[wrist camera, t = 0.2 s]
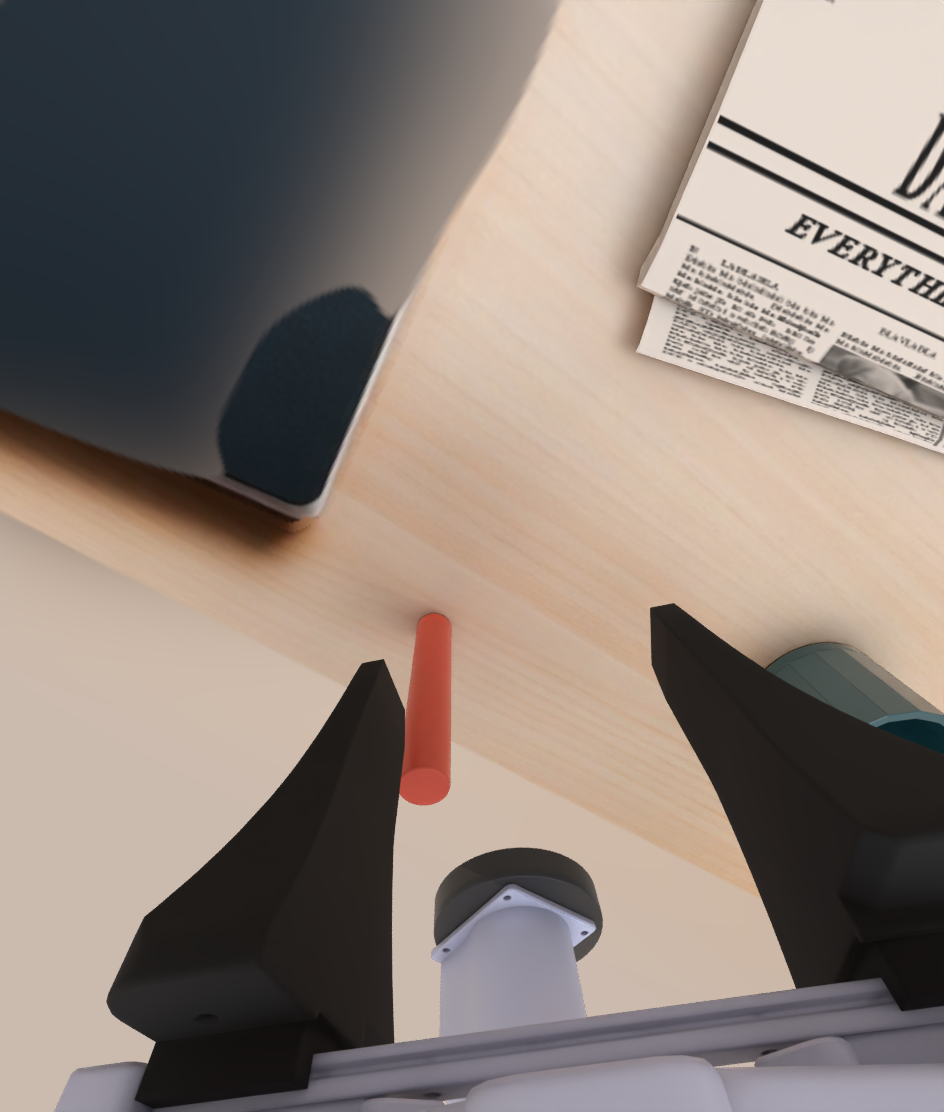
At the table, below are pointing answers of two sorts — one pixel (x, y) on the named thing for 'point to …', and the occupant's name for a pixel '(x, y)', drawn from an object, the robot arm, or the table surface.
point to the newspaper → (817, 219)
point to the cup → (862, 691)
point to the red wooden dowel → (428, 715)
